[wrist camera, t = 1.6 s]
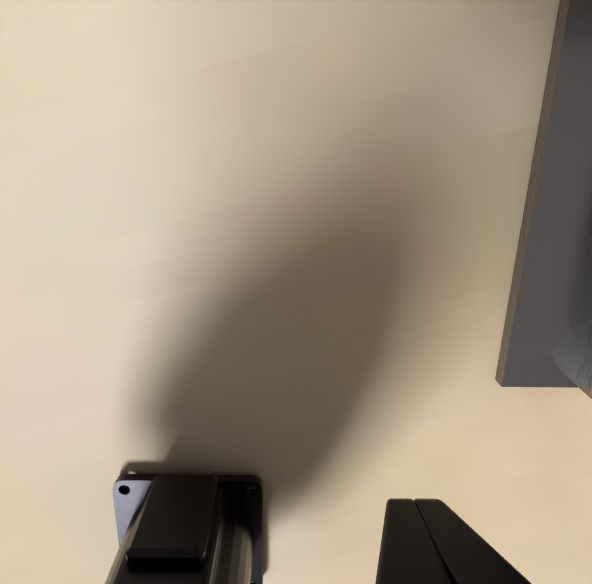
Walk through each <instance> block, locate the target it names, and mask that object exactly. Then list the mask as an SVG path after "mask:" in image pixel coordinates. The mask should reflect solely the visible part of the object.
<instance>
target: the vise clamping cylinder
mask: <svg viewBox="0 0 592 584" xmlns="http://www.w3.org/2000/svg"><path fill="white" fill-rule="evenodd" d="M495 380H496V381H497V382H498V383H499V384H500V385H501V387H579V388H580V389H581V390H582V391H583V392H584V393H586V394H587V395H588V396H589V397H590V398H591V399H592V0H560V5H559V10H558V16H557V22H556V28H555V34H554V40H553V45H552V51H551V57H550V63H549V69H548V75H547V81H546V86H545V92H544V98H543V104H542V110H541V116H540V121H539V127H538V133H537V139H536V145H535V151H534V157H533V162H532V168H531V174H530V180H529V186H528V192H527V198H526V203H525V209H524V215H523V221H522V227H521V233H520V238H519V244H518V250H517V256H516V262H515V268H514V274H513V279H512V285H511V291H510V297H509V303H508V309H507V314H506V320H505V326H504V332H503V338H502V344H501V350H500V355H499V361H498V367H497V373H496V379H495Z"/></svg>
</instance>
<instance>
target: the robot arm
mask: <svg viewBox="0 0 592 584" xmlns="http://www.w3.org/2000/svg"><path fill="white" fill-rule="evenodd" d="M122 485H126V486H128V487H129V488H124V487H123V486H122ZM248 486H254V487H255V489H249V488H248ZM113 496H114V505H115V513H116V522H117V530H118V539H119V550H118V552H117V555H116V557H115V560H114V562H113V565H112V567H111V570H110V572H109V575H108V577H107V580H106V582H105V584H263V482H262V480H261V479H260V478H259V477H257V476H255V475H172V474H125V475H121V476H119V477H118V478H117V480H116V482H115V484H114V486H113ZM252 582H253V583H252ZM375 584H531V583H530V582H529V581H528V580H527V579H526V578H525V577H524V576H523V575H522V574H521V573H519V572H518V571H517V570H516V569H515V568H514V567H513V566H512V565H511V564H510V563H509V562H508V561H506V560H505V559H504V558H503V557H502V556H501V555H500V554H499V553H498V552H497V551H496V550H495V549H494V548H492V547H491V546H490V545H489V544H488V543H487V542H486V541H485V540H484V539H483V538H482V537H481V536H479V535H478V534H477V533H476V532H475V531H474V530H473V529H472V528H471V527H470V526H469V525H468V524H467V523H465V522H464V521H463V520H462V519H461V518H460V517H459V516H458V515H457V514H456V513H455V512H454V511H452V510H451V509H450V508H449V507H448V506H447V505H446V504H445V503H444V502H442V501H441V500H439V499H415V500H412V499H389V500H388V501H387V504H386V511H385V518H384V526H383V533H382V540H381V547H380V554H379V562H378V569H377V576H376V583H375Z"/></svg>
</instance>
